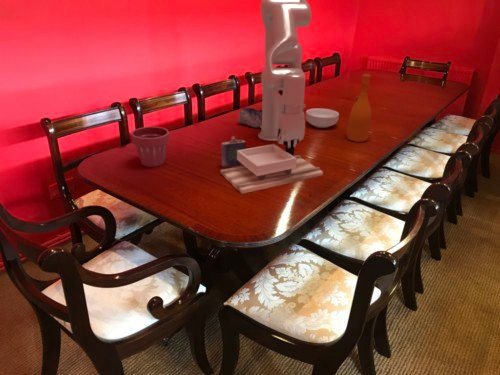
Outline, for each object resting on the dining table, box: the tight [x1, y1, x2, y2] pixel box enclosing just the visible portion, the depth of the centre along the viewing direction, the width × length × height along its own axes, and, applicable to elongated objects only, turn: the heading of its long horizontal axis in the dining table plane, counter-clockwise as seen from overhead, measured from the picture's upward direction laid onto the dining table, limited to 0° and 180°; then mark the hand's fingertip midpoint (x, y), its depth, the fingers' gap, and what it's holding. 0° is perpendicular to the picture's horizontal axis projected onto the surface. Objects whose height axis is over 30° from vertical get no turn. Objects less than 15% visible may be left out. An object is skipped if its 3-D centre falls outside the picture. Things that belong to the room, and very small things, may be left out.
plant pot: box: [130, 126, 170, 168], centre depth 151 cm, size 14×14×13 cm
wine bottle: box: [346, 73, 372, 143], centre depth 174 cm, size 10×10×30 cm
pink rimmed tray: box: [237, 143, 297, 180], centre depth 141 cm, size 16×16×6 cm
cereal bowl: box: [305, 107, 340, 129], centre depth 197 cm, size 17×17×7 cm
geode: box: [238, 106, 262, 129], centre depth 196 cm, size 20×12×10 cm, turn 56°
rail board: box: [220, 154, 324, 195], centre depth 144 cm, size 18×34×2 cm, turn 117°
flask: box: [220, 136, 247, 168], centre depth 150 cm, size 10×3×12 cm, turn 109°
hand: (289, 156), depth 145 cm, fingers closed
